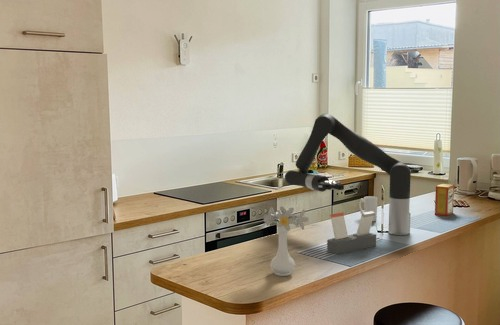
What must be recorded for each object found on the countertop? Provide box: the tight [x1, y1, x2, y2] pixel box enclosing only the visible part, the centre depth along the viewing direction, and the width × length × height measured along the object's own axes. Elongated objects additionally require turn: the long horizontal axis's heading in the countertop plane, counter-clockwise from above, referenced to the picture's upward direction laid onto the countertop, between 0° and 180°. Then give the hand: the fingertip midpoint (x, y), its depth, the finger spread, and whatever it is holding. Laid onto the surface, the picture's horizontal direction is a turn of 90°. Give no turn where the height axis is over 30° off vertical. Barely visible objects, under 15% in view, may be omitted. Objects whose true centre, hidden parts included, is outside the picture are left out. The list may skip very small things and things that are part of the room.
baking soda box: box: [434, 183, 455, 217], centre depth 309 cm, size 10×6×16 cm
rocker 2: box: [355, 211, 375, 236], centre depth 245 cm, size 6×2×11 cm, turn 124°
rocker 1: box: [329, 212, 349, 239], centre depth 241 cm, size 6×2×11 cm, turn 124°
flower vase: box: [261, 205, 309, 277], centre depth 211 cm, size 13×18×25 cm
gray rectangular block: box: [326, 232, 377, 255], centre depth 244 cm, size 23×6×6 cm, turn 124°
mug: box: [358, 195, 378, 222], centre depth 296 cm, size 10×7×12 cm, turn 51°
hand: (342, 187), depth 255 cm, fingers closed
